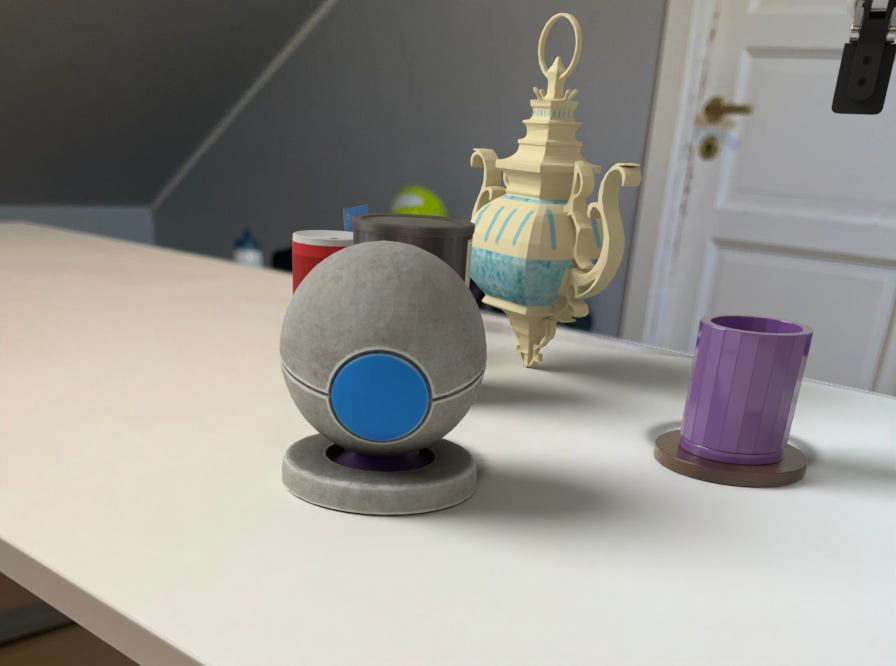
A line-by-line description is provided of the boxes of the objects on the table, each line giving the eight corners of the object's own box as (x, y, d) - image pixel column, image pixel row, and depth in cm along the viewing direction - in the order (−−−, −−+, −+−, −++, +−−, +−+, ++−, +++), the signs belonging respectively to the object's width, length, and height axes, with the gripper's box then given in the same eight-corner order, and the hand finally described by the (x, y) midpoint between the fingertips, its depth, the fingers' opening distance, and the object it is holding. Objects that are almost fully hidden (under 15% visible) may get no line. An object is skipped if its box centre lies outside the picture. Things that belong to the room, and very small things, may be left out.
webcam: (471, 456, 71) (488, 235, 64) (481, 520, 60) (504, 261, 53) (293, 448, 71) (290, 225, 64) (270, 511, 59) (263, 248, 52)
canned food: (341, 361, 96) (342, 241, 91) (277, 348, 99) (275, 232, 94) (383, 348, 102) (387, 235, 96) (322, 337, 105) (322, 228, 100)
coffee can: (434, 410, 81) (444, 229, 75) (327, 391, 85) (328, 217, 78) (481, 385, 90) (494, 220, 83) (382, 369, 93) (387, 210, 87)
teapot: (651, 390, 91) (712, 11, 77) (552, 401, 86) (598, -3, 72) (508, 339, 109) (536, 24, 95) (419, 345, 104) (434, 13, 90)
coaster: (808, 454, 76) (811, 441, 75) (801, 497, 66) (805, 483, 66) (666, 432, 79) (668, 420, 78) (641, 471, 70) (643, 457, 69)
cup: (787, 443, 74) (815, 321, 70) (780, 471, 68) (811, 340, 64) (686, 428, 77) (708, 310, 72) (671, 454, 70) (694, 326, 66)
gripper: (1010, -246, 52) (920, 116, 61) (976, -169, 66) (907, 116, 75) (860, -236, 55) (793, 111, 63) (859, -163, 69) (804, 112, 77)
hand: (855, 113), depth 69 cm, fingers open, 9 cm apart
